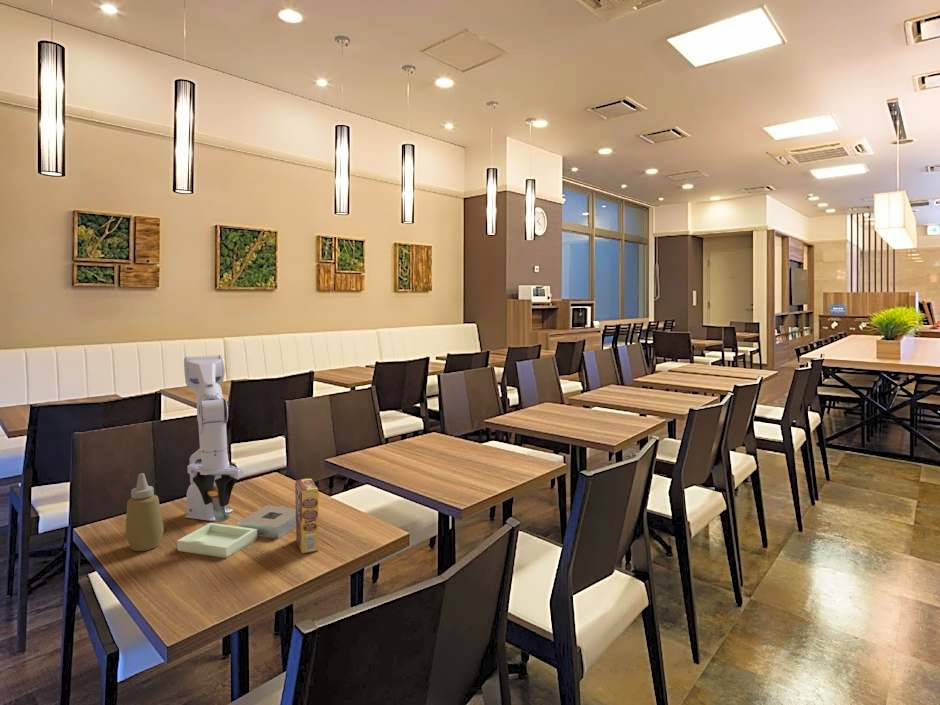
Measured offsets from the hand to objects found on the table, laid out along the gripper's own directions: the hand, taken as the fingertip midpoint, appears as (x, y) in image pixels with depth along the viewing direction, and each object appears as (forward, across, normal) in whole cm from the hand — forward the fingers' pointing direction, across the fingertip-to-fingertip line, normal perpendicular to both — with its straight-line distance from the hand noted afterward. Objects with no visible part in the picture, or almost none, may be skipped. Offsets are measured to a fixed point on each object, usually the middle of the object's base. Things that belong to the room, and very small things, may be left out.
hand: (216, 504), depth 137 cm
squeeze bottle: (+10, -16, -6) cm, 20 cm away
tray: (+10, 0, 0) cm, 10 cm away
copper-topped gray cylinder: (+4, 0, +1) cm, 4 cm away
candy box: (+10, +21, +6) cm, 24 cm away
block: (+10, +6, +13) cm, 18 cm away
